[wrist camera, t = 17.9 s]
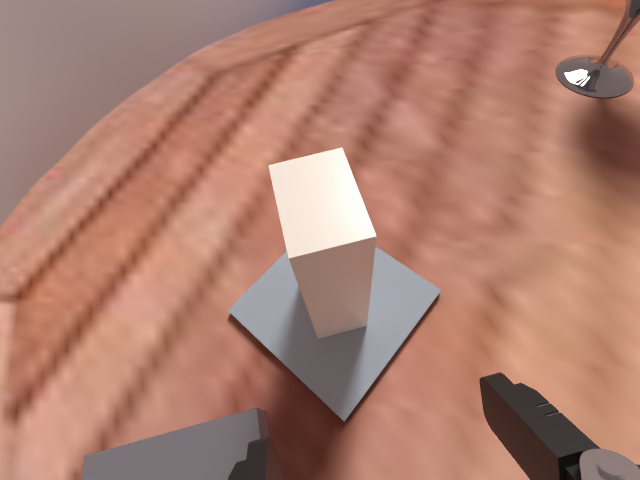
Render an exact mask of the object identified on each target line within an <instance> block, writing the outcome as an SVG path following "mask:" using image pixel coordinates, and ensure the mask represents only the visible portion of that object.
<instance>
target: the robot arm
mask: <svg viewBox="0 0 640 480" xmlns="http://www.w3.org/2000/svg"><path fill="white" fill-rule="evenodd" d="M480 388H481V396H482V403H483V411H484V415H485V418H486V420H487V422H488V424H489V426H490V428H491V429H492V431H493V432H494V433H495V435H496V436H497V437H498V439H499V440H500V441H501V442H502V444H503V445H504V446H505V448H506V449H507V450H508V451H509V453H510V454H511V455H512V457H513V458H514V459H515V460H516V462H517V463H518V464H519V466H520V467H521V468H522V469H523V471H524V472H525V473H526V475H527V476H528V477H529V479H530V480H640V465H637V464H634V463H633V462H632V461H631V460H629V459H628V458H626V457H624V456H622V455H620V454H618V453H616V452H613V451H610V450H605V449H600V448H599V447H598V446H597V445H596V444H595V443H594V442H592V441H591V440H590V439H589V438H588V437H587V436H586V435H585V434H584V433H583V432H581V431H580V430H579V429H578V428H577V427H576V426H575V425H574V424H573V423H572V422H570V421H569V420H568V419H567V418H566V417H565V416H564V415H563V414H562V413H559V411H558V410H557V409H556V408H555V407H554V406H553V405H552V404H549V402H548V401H547V400H546V399H545V398H544V397H543V396H542V395H541V394H540V393H538V392H537V391H536V390H534V389H532V388H530V387H528V386H526V385H524V384H522V383H519V384H515V385H514V384H513V383H512V382H511V381H510V380H509V379H508V378H507V377H506V376H505V375H504V374H502V373H496V374H492V375H489V376H485V377H482V378H480ZM228 480H283V477H282V472H281V468H280V465H279V462H278V459H277V456H276V453H275V450H274V447H273V443H272V440H271V438H270V437H269V436H268V437H264V438H261V439H257V440H254V441H250V442H249V443H248V449H247V457H246V460H243V461H239V462H236V464H235V466H234V468H233V469H232V471H231V473H230V475H229V477H228Z"/></svg>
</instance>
